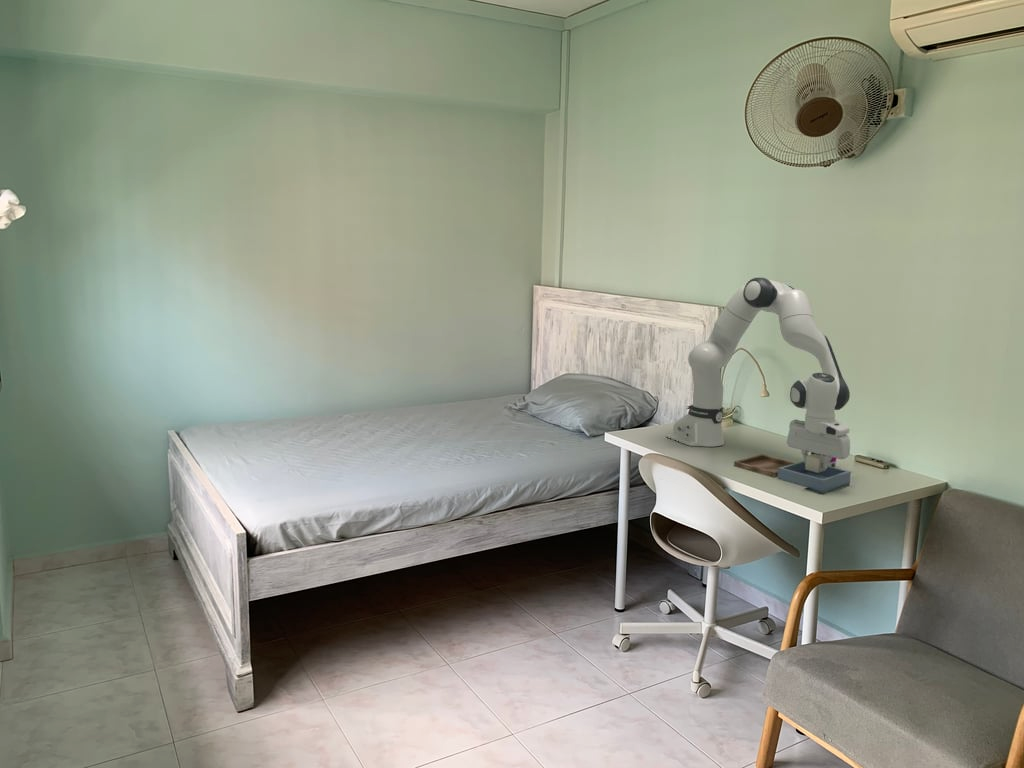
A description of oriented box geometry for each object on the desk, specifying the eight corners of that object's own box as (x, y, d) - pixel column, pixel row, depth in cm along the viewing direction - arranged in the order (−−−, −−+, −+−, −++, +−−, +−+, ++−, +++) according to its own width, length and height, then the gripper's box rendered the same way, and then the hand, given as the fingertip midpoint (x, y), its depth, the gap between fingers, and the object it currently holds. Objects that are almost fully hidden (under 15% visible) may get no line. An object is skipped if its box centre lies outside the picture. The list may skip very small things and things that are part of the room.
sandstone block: (805, 469, 257) (806, 456, 256) (812, 467, 259) (813, 453, 259) (817, 472, 253) (819, 459, 252) (825, 470, 256) (826, 456, 255)
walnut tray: (733, 468, 271) (734, 461, 271) (761, 461, 281) (761, 454, 281) (774, 480, 259) (775, 473, 259) (802, 472, 269) (802, 465, 268)
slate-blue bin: (777, 481, 258) (778, 468, 258) (804, 472, 268) (805, 460, 267) (822, 494, 246) (823, 480, 245) (849, 485, 256) (850, 471, 255)
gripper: (784, 419, 260) (781, 460, 262) (843, 432, 244) (839, 475, 246) (795, 417, 263) (792, 457, 266) (854, 429, 248) (850, 471, 250)
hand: (815, 466), depth 256 cm, fingers closed on sandstone block, 4 cm apart
